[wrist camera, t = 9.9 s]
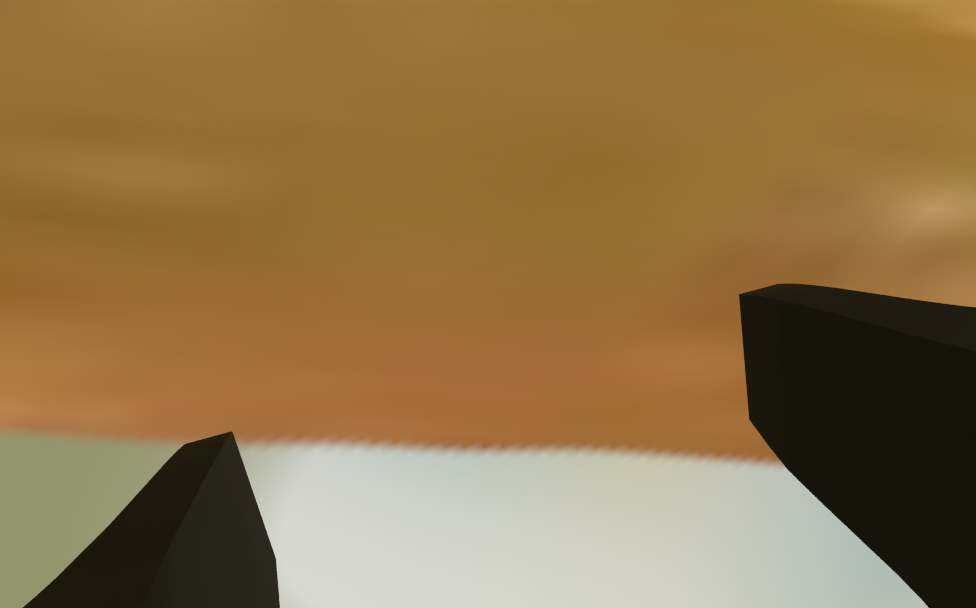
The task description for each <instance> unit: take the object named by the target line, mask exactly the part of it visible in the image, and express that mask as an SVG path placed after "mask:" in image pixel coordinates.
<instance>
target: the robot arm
mask: <svg viewBox="0 0 976 608" xmlns="http://www.w3.org/2000/svg"><path fill="white" fill-rule="evenodd" d="M739 299H740V311H741V323H742V335H743V348H744V360H745V372H746V384H747V397H748V409H749V420H750V421H751V422H752V424H753V425H754V426H755V428H756V429H757V430H758V432H759V433H760V434H761V436H762V437H763V439H764V440H765V441H766V443H767V444H768V445H769V447H770V448H771V449H772V450H773V452H774V453H775V454H776V455H777V457H778V458H779V459H780V460H781V462H782V463H783V464H784V465H785V467H786V468H787V469H788V470H789V471H790V472H791V473H792V474H793V475H794V476H795V477H796V478H797V479H798V480H799V481H800V482H801V483H802V484H803V485H804V486H805V487H806V488H807V489H808V490H809V491H810V492H811V493H812V494H813V495H814V496H815V497H817V499H819V501H821V502H822V503H823V504H824V505H825V506H826V507H827V508H828V509H829V510H830V511H831V512H832V513H833V514H834V515H835V516H836V517H837V518H838V519H839V520H841V521H842V522H843V523H844V524H845V525H846V526H847V527H848V528H849V529H850V530H851V531H852V532H853V533H854V534H855V535H856V536H857V537H859V539H861V540H862V541H863V542H864V543H865V544H866V545H867V546H868V547H869V548H870V549H871V550H872V551H873V552H874V553H875V554H876V555H877V556H879V557H880V558H881V559H882V560H883V561H884V562H885V563H886V564H887V565H888V566H889V567H890V568H891V569H892V570H893V571H894V572H895V573H897V574H898V575H899V576H900V577H901V579H903V581H905V583H906V584H907V585H908V586H909V587H910V588H911V589H912V590H913V591H914V592H915V593H916V594H917V595H918V596H919V597H920V598H921V599H922V600H923V601H924V602H925V604H926V605H927V606H928V607H929V608H976V308H975V307H966V306H957V305H949V304H942V303H934V302H927V301H920V300H913V299H906V298H899V297H893V296H886V295H879V294H873V293H866V292H860V291H853V290H846V289H839V288H832V287H824V286H815V285H805V284H776V285H772V286H769V287H765V288H761V289H758V290H754V291H750V292H746V293H743V294H739ZM23 608H280V605H279V592H278V580H277V568H276V558H275V555H274V552H273V549H272V546H271V543H270V540H269V537H268V535H267V532H266V529H265V526H264V523H263V520H262V517H261V514H260V511H259V508H258V505H257V502H256V499H255V496H254V494H253V491H252V488H251V485H250V482H249V479H248V476H247V473H246V470H245V467H244V464H243V461H242V458H241V456H240V453H239V450H238V447H237V444H236V441H235V438H234V435H233V432H228V433H224V434H220V435H217V436H213V437H209V438H206V439H202V440H198V441H195V442H191V443H187V444H185V445H184V446H182V447H181V448H180V449H179V450H178V451H177V452H176V453H175V454H174V455H173V456H172V457H171V458H170V459H169V460H168V461H167V462H166V463H165V464H164V465H163V466H162V467H161V469H160V470H159V471H158V472H157V473H156V474H155V475H154V476H153V478H152V479H151V480H150V481H149V482H148V483H147V484H146V485H145V487H144V488H143V489H142V490H141V491H140V492H139V493H138V494H137V495H136V496H135V497H134V499H133V500H132V501H131V502H130V503H129V504H128V505H127V506H126V507H125V508H124V509H123V511H122V512H121V513H120V514H119V515H118V516H117V517H116V518H115V519H114V520H113V521H112V523H111V524H110V525H109V526H108V527H107V528H106V529H105V530H104V531H103V532H102V533H101V534H100V535H99V536H98V537H97V538H96V539H95V540H94V541H93V542H92V543H91V544H90V545H89V546H88V547H87V548H86V549H85V550H84V551H83V552H82V553H81V554H80V555H79V556H78V557H77V558H76V559H75V560H74V561H73V562H72V563H71V564H70V565H69V566H68V567H67V568H66V569H65V570H64V571H63V572H62V573H61V574H60V575H59V576H58V577H57V578H56V579H54V580H53V581H52V582H51V583H50V584H49V585H48V586H47V587H46V588H45V589H44V590H43V591H41V592H40V593H39V594H38V595H37V596H36V597H35V598H34V599H32V600H31V601H30V602H29V603H28V604H27V605H25V606H24V607H23Z"/></svg>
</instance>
